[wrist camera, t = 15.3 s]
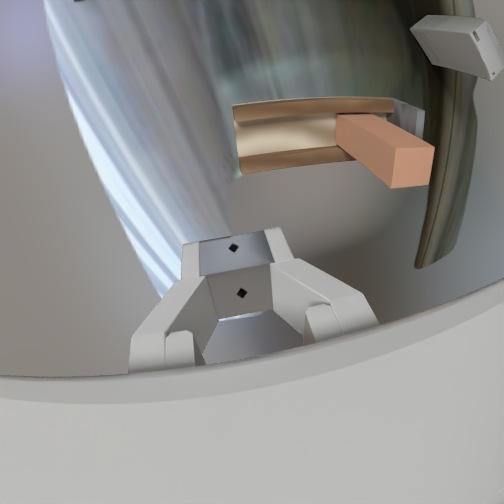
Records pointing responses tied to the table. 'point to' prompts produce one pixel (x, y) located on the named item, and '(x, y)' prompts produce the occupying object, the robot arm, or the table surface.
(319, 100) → the chute
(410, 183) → the post
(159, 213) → the table surface
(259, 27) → the table surface
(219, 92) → the table surface
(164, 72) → the table surface
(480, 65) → the skincare box
